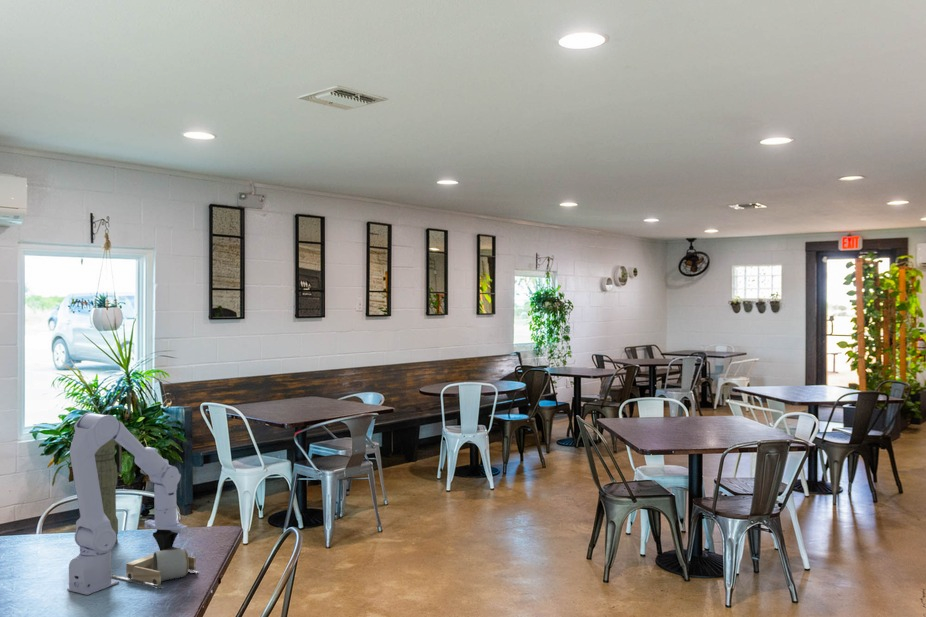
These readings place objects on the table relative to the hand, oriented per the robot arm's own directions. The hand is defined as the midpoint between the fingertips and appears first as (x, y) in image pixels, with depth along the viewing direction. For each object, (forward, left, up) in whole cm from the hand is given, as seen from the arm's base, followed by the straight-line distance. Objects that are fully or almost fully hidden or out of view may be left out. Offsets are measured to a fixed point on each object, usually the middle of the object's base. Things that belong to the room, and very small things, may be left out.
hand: (166, 556), depth 212 cm
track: (-8, -3, -2) cm, 9 cm away
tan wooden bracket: (-6, -7, -1) cm, 10 cm away
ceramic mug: (-7, -9, -2) cm, 12 cm away
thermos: (+4, +32, -2) cm, 32 cm away
